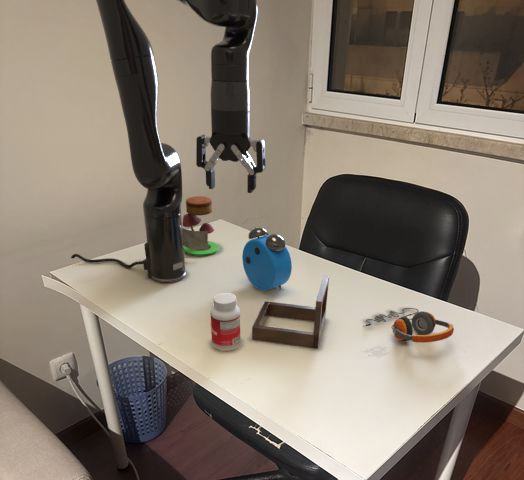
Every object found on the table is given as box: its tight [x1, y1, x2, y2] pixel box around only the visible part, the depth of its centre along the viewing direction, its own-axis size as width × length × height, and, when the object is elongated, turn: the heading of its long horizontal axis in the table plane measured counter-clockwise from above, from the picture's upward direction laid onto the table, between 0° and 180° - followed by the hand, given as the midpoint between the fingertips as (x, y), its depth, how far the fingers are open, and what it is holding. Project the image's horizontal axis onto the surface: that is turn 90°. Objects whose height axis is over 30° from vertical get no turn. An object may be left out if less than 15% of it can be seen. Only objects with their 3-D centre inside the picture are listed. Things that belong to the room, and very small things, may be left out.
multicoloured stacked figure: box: [182, 195, 220, 257], centre depth 148 cm, size 12×13×15 cm
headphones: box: [362, 307, 455, 343], centre depth 111 cm, size 17×5×20 cm
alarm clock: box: [241, 226, 293, 292], centre depth 127 cm, size 13×6×15 cm, turn 39°
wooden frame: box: [251, 275, 330, 349], centre depth 110 cm, size 14×12×11 cm
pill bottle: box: [209, 292, 242, 352], centre depth 105 cm, size 6×6×11 cm
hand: (231, 190), depth 107 cm, fingers open, 8 cm apart
